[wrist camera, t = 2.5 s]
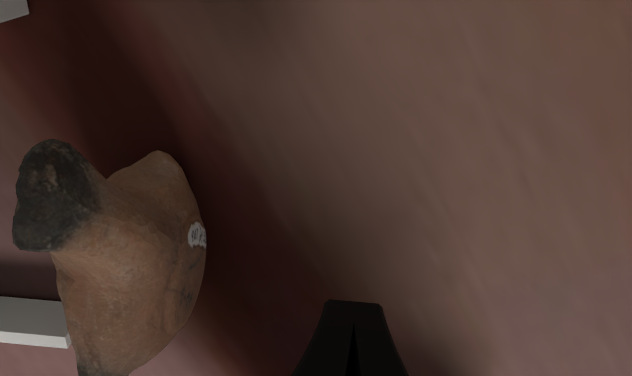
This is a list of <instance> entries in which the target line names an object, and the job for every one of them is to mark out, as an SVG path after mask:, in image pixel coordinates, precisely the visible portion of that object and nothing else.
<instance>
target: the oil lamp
mask: <svg viewBox="0 0 632 376" xmlns="http://www.w3.org/2000/svg"><path fill="white" fill-rule="evenodd" d="M19 172H20V174H19V178H18V180H17V183H16V194H17V198H18V202H17V206H16V210H15V215H14V217H13V228H12V235H13V243H14V244H15V245H16V246H17V247H18V248H19V249H20V250H26V251H34V252H49V253H50V256H51V259H52V261H53V263H54V265H55V269H56V272H57V278H56V282H57V289H58V294H59V296H60V298H61V301H62V305H63V309H64V313H65V317H66V323H67V329H68V332H69V335H70V339H71V342H72V345H73V347H74V350H75V353H76V360H77V370H78V375H79V376H128V375H129V374H130V373H131V372H132V371H133V370H135V369H137V368H138V367H140V366H142V365H144V364H145V363H147V362H148V361H149V360H150V359H152V358H153V357H154V356H156V355H157V354H158V353H159V352H160V351H161V350H162V349H163V348H164V347H165V346H167V344H168V343H169V342H170V341H171V340H172V339H173V338H174V336H175V335H176V334H177V332H178V331H179V330H180V329H181V328H182V327H183V326H184V325H185V323H186V322H187V320H188V319H189V317H190V315H191V313H192V311H193V308H194V305H195V303H196V300H197V297H198V293H199V290H200V287H201V283H202V279H203V274H204V268H205V260H206V232H205V228H204V225H203V222H202V219H201V216H200V212H199V208H198V205H197V202H196V199H195V197H194V195H193V193H192V190H191V188H190V186H189V183H188V181H187V178H186V176H185V174H184V172H183V170H182V168H181V167H180V166H179V164H178V163H177V162H176V161H175V159H173V158H172V157H171V156H170V155H169V154H167V153H164V152H162V151H159V150H157V151H153V152H151V153H149V154H148V155H147V156H146V157H144V158H142V159H141V160H139V161H137V162H136V163H134V164H133V165H131V166H129V167H126V168H123V169H121V170H119V171H117V172H115V173H113V174H112V175H111V176H110V177H109V178H108V179H105V178H104V177H103V176H102V175H101V174H100V173H99V172H98V171H97V170H96V169H95V168H94V167H93V166H92V165H91V164H90V163H89V162H88V161H87V160H86V159H85V158H84V157H83V156H82V155H81V154H80V153H79V152H78V151H77V150H75V149H74V148H73V147H72V146H71V145H70V144H68V143H65V142H62V141H59V140H56V139H50V140H45V141H42V142H40V143H38V144H37V145H35V146H34V147H32V148H31V150H30V151H29V152H28V153H27V154H26V155H25V156H24V159H23V161H22V164H21V166H20V168H19Z"/></svg>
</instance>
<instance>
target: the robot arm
mask: <svg viewBox="0 0 632 376" xmlns="http://www.w3.org/2000/svg"><path fill="white" fill-rule="evenodd" d="M291 376H409V375H408V373H407V371H406V369H405V367H404V365H403V363H402V360H401V358H400V356H399V354H398V352H397V349H396V347H395V345H394V342H393V340H392V337H391V334H390V332H389V329H388V326H387V323H386V320H385V316H384V313H383V308H382V307H381V306H380V305H379V304H375V303H364V302H352V301H340V300H328V301H327V302H325V303H324V308H323V312H322V315H321V318H320V321H319V323H318V326H317V328H316V330H315V333H314V335H313V337H312V339H311V341H310V343H309V345H308V347H307V349H306V351H305V353H304V355H303V357H302V359H301V360H300V362H299V364H298V365H297V367H296V369H295V370H294V372H293V374H292V375H291Z"/></svg>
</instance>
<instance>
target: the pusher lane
mask: <svg viewBox="0 0 632 376" xmlns="http://www.w3.org/2000/svg"><path fill="white" fill-rule="evenodd" d="M28 14H29V10H28V5H27V0H0V23H2V22H5V21H8V20H11V19H15V18H18V17H21V16H25V15H28ZM0 342H4V343H14V344H25V345H35V346H46V347H57V348H67V349H68V347H69V346H70V344H71V343H72V342H71V339H70V335H69V332H68V329H67V323H66V317H65V313H64V309H63V305H62V302H59V301H48V300H37V299H26V298H14V297H3V296H0Z"/></svg>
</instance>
